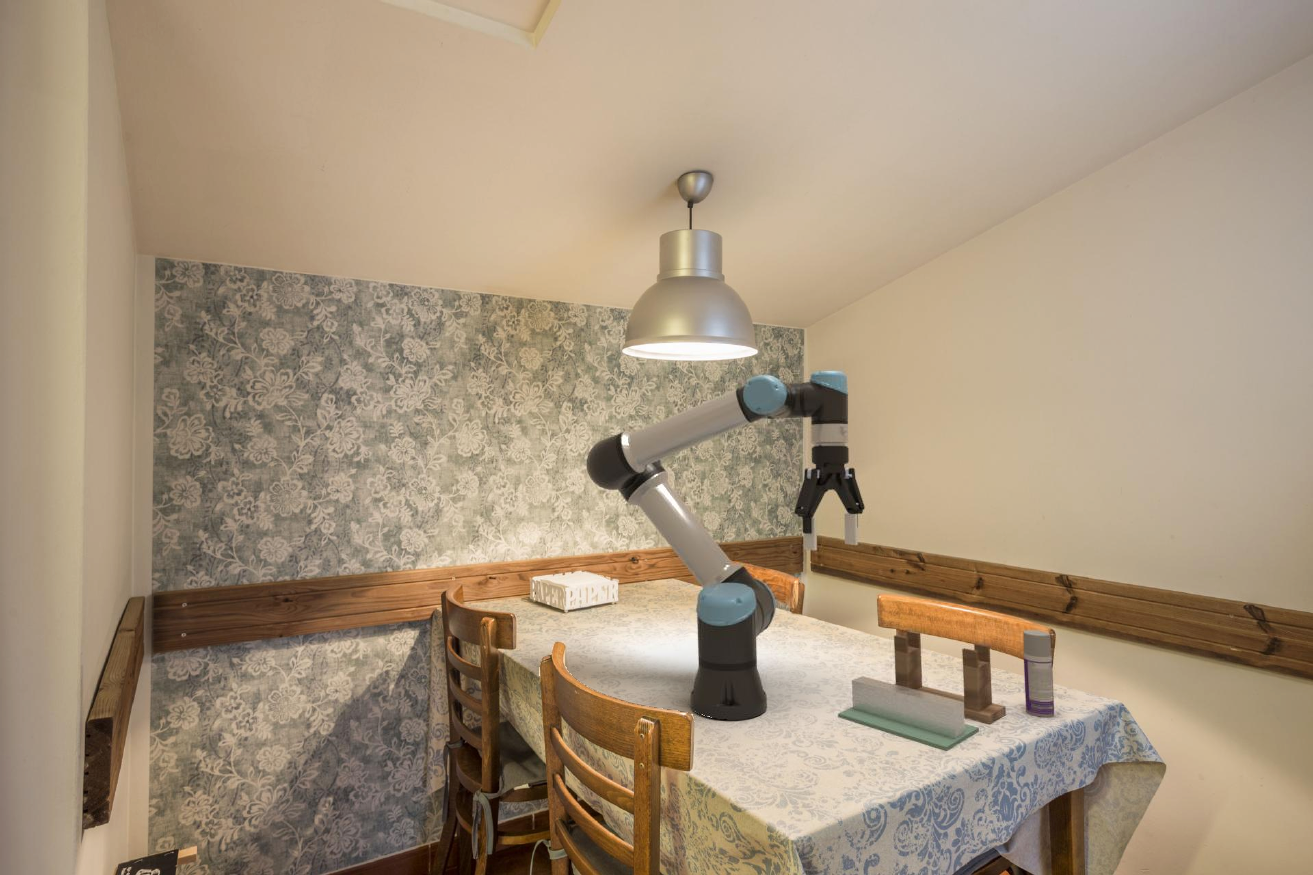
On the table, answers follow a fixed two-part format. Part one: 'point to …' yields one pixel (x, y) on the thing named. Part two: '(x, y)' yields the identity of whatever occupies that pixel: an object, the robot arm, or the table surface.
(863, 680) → the rail
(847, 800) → the table surface
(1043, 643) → the container
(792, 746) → the table surface
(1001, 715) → the rack
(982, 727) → the table surface
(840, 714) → the mat
